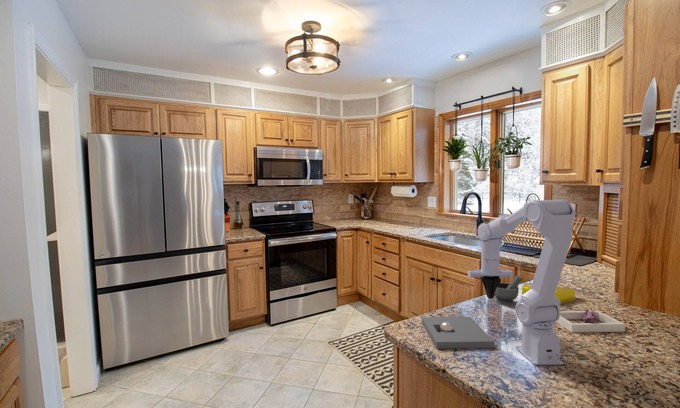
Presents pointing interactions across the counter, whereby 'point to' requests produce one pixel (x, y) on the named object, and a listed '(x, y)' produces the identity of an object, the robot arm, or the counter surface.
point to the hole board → (457, 333)
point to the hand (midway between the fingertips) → (490, 297)
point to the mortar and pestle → (508, 291)
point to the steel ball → (446, 327)
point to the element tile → (557, 293)
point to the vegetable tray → (607, 326)
